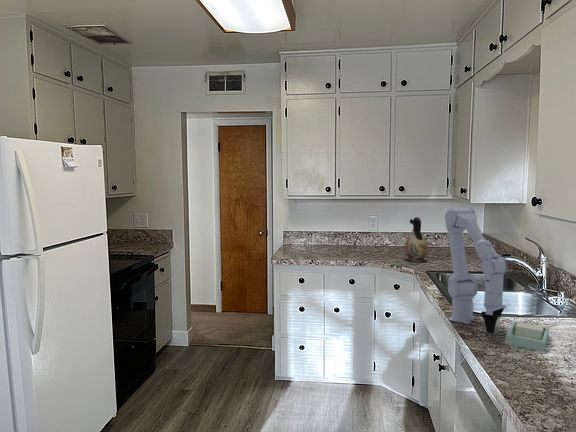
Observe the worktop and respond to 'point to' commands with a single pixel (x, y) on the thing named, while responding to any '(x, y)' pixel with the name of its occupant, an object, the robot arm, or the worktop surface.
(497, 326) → the tin can
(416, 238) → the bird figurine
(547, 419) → the worktop surface
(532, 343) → the tote
